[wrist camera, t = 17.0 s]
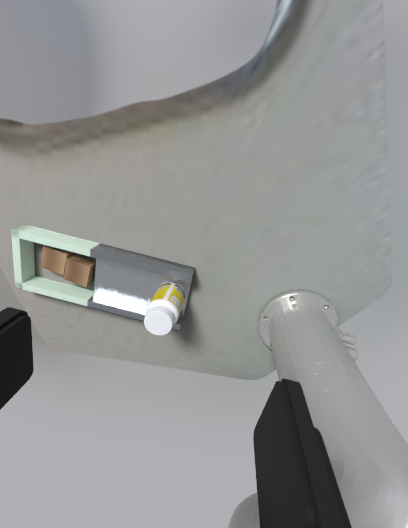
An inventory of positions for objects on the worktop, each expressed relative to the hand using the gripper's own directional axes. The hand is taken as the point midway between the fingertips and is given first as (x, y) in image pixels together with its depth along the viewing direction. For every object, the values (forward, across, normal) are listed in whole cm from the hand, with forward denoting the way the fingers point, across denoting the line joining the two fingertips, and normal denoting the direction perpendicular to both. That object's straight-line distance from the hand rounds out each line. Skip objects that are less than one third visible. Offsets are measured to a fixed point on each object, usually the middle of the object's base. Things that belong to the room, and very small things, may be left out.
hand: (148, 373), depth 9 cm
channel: (+30, +9, +14) cm, 34 cm away
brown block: (+31, +20, +14) cm, 39 cm away
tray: (+30, +23, +14) cm, 41 cm away
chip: (+31, +23, +13) cm, 41 cm away
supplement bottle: (+30, +4, +14) cm, 33 cm away
